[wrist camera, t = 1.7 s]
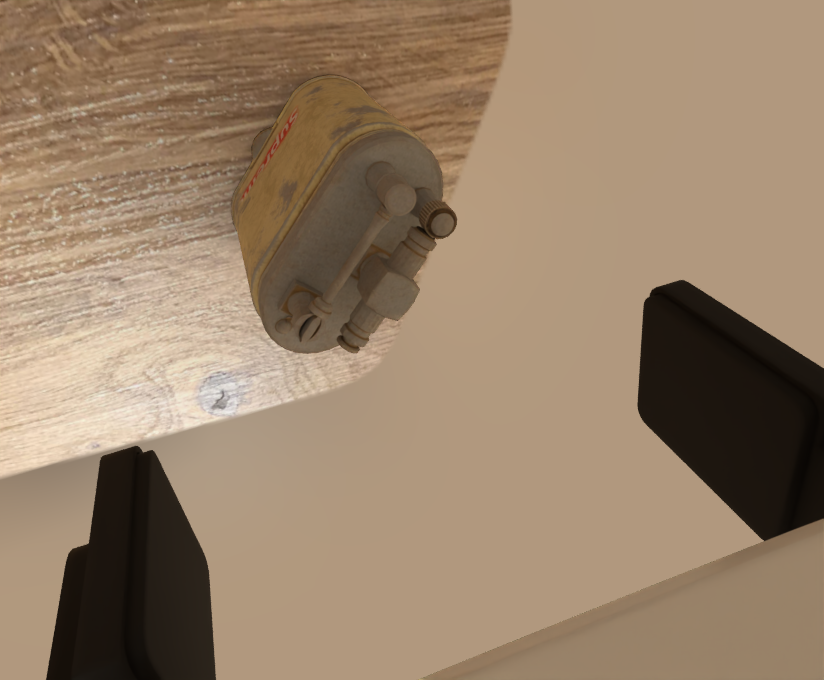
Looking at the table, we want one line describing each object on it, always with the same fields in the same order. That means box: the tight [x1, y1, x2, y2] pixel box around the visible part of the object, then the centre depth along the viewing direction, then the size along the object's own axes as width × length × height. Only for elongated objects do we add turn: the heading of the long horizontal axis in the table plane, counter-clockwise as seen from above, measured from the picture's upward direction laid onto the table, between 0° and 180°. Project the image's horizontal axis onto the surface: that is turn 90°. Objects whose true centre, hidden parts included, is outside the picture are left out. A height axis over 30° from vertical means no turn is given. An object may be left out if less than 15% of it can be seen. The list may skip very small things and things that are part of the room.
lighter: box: [231, 75, 457, 354], centre depth 20 cm, size 7×4×10 cm, turn 144°
